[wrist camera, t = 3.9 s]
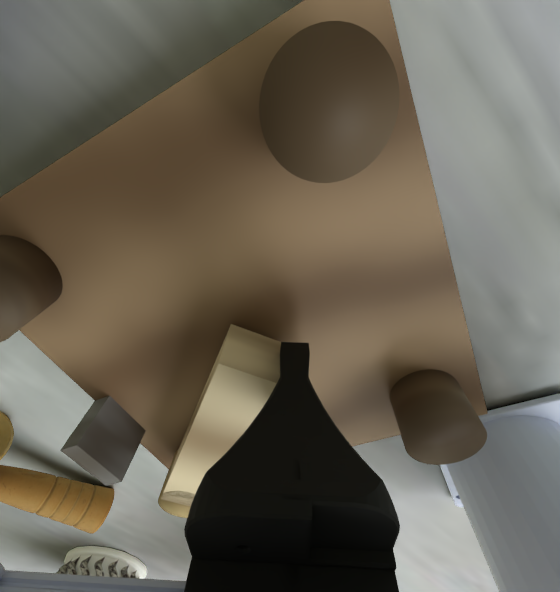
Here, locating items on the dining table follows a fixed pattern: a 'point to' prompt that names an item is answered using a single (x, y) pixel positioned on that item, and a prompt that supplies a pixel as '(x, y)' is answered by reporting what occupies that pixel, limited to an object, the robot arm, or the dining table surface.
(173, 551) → the dining table surface
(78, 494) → the kendama
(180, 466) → the hinged leg
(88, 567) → the decorative candle
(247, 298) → the stool seat
